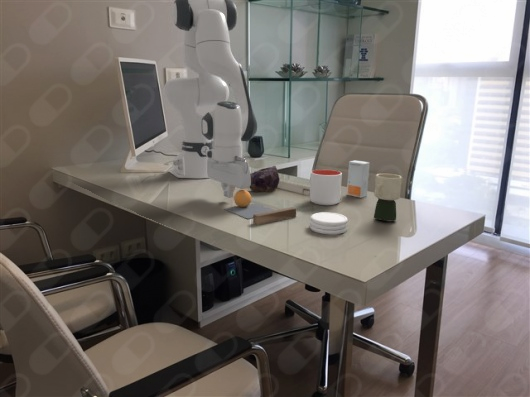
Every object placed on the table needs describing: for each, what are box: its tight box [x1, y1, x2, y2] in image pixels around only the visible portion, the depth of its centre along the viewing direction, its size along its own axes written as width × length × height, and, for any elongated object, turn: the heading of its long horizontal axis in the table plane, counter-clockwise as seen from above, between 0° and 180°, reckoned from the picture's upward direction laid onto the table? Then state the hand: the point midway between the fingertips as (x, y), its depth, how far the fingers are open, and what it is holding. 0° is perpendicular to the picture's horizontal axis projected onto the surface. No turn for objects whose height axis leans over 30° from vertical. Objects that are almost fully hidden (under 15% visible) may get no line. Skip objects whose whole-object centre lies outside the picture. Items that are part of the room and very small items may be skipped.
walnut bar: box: [252, 206, 297, 226], centre depth 124 cm, size 2×14×2 cm, turn 128°
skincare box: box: [346, 160, 371, 199], centre depth 153 cm, size 6×4×12 cm
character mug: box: [373, 173, 403, 222], centre depth 125 cm, size 11×7×13 cm, turn 132°
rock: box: [249, 165, 280, 193], centre depth 158 cm, size 12×9×10 cm
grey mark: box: [225, 202, 275, 220], centre depth 133 cm, size 12×12×1 cm
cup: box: [309, 169, 343, 206], centre depth 144 cm, size 10×10×10 cm
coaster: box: [309, 211, 349, 235], centre depth 118 cm, size 10×10×4 cm
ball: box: [233, 189, 252, 207], centre depth 136 cm, size 5×5×5 cm
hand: (228, 196), depth 142 cm, fingers closed
